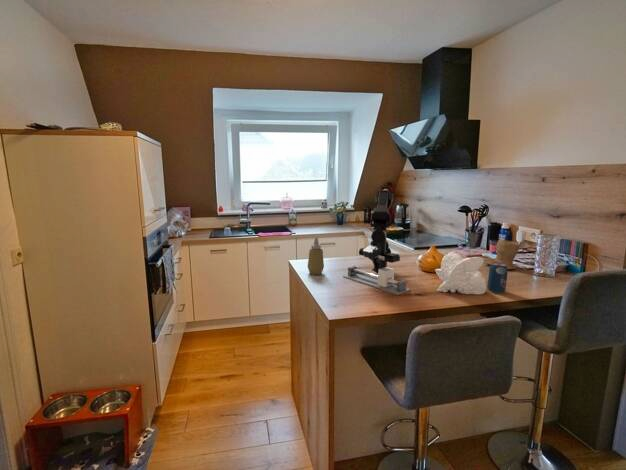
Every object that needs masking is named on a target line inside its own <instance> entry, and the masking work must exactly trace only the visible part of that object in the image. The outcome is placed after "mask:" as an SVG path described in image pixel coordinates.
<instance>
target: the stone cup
mask: <svg viewBox="0 0 626 470" xmlns="http://www.w3.org/2000/svg"><path fill="white" fill-rule="evenodd" d="M519 249H520V244H519V243H518V242H515V241H511V240H506V239H502V238H501V239H499V240H498V241H497V244H496V257H495V258H491V257H490V258H489V257H487V258H485V259H483V260H484V261H483V264H486V265H489V266H491V264H492V263H493V262H498V263H504V264H506V265H507V268H508V270H514V269H516V268H517V266H516V265H515V264H514V263H513V262H514V260H515V258H516V256H517V254H518V252H519Z"/></svg>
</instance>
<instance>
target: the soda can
mask: <svg viewBox="0 0 626 470" xmlns="http://www.w3.org/2000/svg"><path fill="white" fill-rule="evenodd" d="M508 271H509V269H508V268H507V265H506V264H504V263H498V262H493V263H492V264H491V265H489V271H488V277H487V278H488V279H487V285H486V287H487V289H488V291H489V292H490V291H491V293H493V292H494V293H493V294H503V293H504V292H506V289H507V282H508V281H507V280H508Z"/></svg>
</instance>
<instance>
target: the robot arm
mask: <svg viewBox="0 0 626 470" xmlns="http://www.w3.org/2000/svg"><path fill="white" fill-rule="evenodd" d="M374 197H375V198H374V199H375V202H376V207H375V208H373V212H371V220H370V227H371V228H373V230H372V233H371V236H370V237H371V241H370V243H369V244H370V245H368V246H366V247H362V248H360V249H359V250H358V255H359V256H364V258H368V259H369V260H370V261H372V264H373V268H371V270H372V271H374V272H375V273H376V275H378V269H381V268H385V267H388V263H391V264H392V263H396V262H401V256H400V254H398V253H394V252H392V250H391V248H390V244H389V241H388V240H387V234H388V228H390V226H391V222H392V216H391V213H389V209H390V208H391V206H392V203H393V202H394V193H393V192H391V191H390V190H388V189H379V190H378V191H376V192H375V196H374Z"/></svg>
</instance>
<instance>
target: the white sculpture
mask: <svg viewBox="0 0 626 470" xmlns="http://www.w3.org/2000/svg"><path fill="white" fill-rule="evenodd" d="M483 261H484V259H483V258H482V257H480V256H472V257H466V258H463V257H462V256H461V255H460V254H458V253H456V252H454V251H450V252H448V253H447V254H446V255H444V256H443V257H442V260H441V262H440V268H435V272H436V273H435V274H436V275H437V276H438V278H439V280H441V281H443V282H442V284H440V285H439V287H438V288H437V289H436V291H437V292H441V293H442V292H443V293H447V292H449V291H450V293H456V291H457V292H458V293H460V294H466V295H470V294H471V295H484V294H485V292H486V291H487V289H488V287H487V283H486V282H487V278H486V279H485V278H484V276H483V273H481V271H479V269H480V268H481V266H482V265H483V264H484V262H483Z"/></svg>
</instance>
